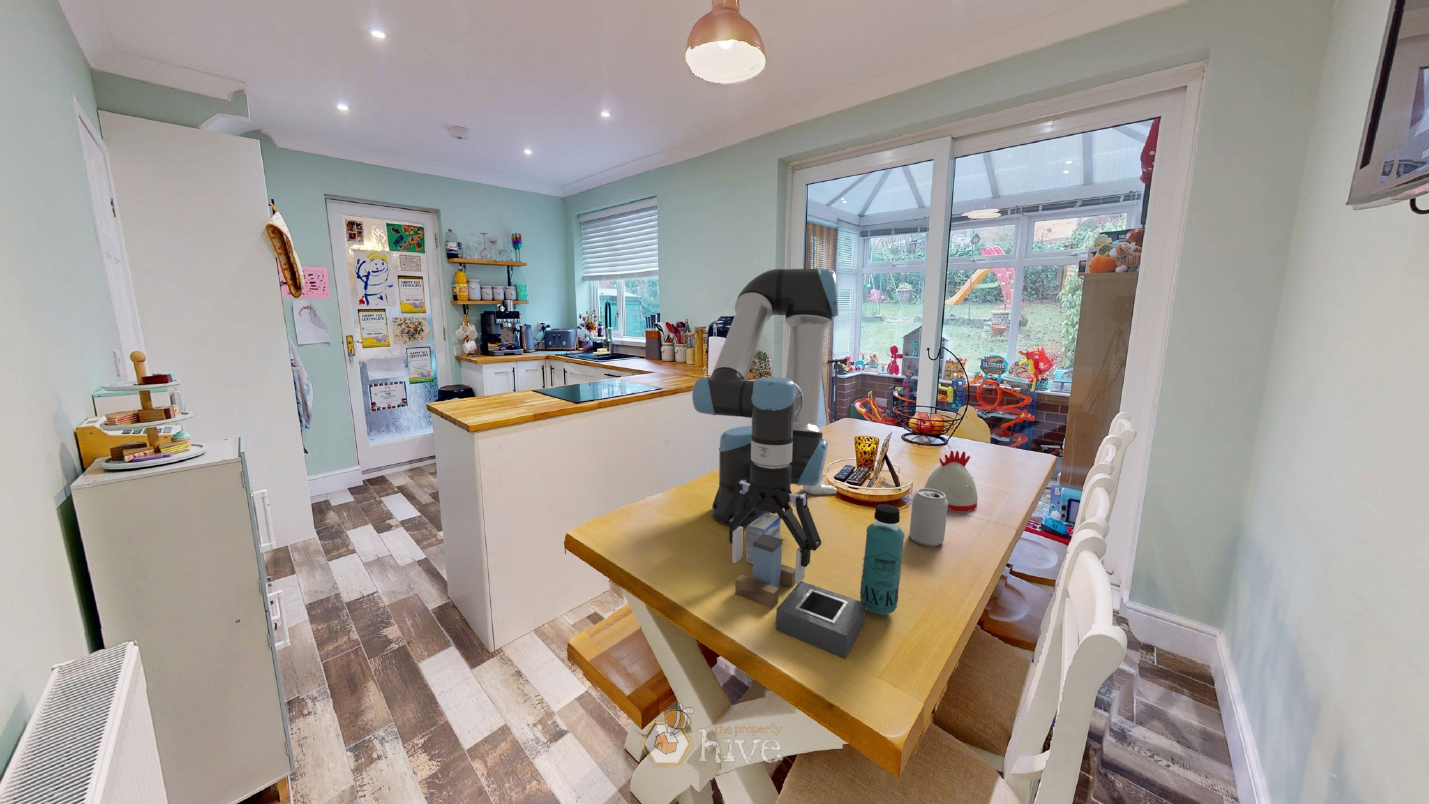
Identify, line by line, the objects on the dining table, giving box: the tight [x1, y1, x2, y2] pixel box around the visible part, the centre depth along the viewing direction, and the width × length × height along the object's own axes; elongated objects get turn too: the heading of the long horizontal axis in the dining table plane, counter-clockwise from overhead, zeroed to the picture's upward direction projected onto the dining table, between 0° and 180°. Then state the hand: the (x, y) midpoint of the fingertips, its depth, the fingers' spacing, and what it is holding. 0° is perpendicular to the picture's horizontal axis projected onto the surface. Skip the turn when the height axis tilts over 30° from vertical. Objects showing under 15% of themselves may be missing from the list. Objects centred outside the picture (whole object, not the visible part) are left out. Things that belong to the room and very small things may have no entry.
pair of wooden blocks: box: [734, 563, 796, 609], centre depth 92 cm, size 8×10×3 cm
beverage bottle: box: [859, 503, 905, 615], centre depth 84 cm, size 6×7×20 cm
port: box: [775, 580, 867, 659], centre depth 81 cm, size 12×10×4 cm
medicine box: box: [745, 513, 782, 565], centre depth 103 cm, size 8×4×9 cm, turn 148°
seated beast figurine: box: [802, 471, 837, 496], centre depth 141 cm, size 10×9×12 cm
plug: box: [752, 534, 783, 589], centre depth 92 cm, size 4×4×10 cm
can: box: [908, 488, 948, 547], centre depth 112 cm, size 8×8×12 cm
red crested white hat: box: [924, 450, 979, 512], centre depth 134 cm, size 14×14×15 cm
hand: (767, 569), depth 91 cm, fingers open, 13 cm apart
